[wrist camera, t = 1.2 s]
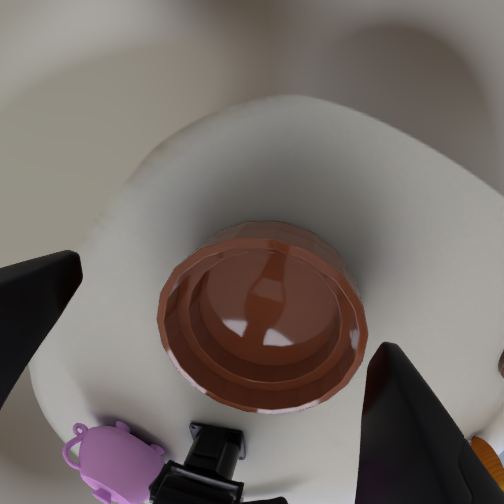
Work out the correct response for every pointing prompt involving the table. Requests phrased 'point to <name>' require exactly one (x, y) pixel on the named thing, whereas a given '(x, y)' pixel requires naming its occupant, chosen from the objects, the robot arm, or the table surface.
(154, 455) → the teapot
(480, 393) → the table surface
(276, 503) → the knife
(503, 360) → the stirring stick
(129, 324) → the table surface
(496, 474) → the carrot
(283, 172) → the table surface
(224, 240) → the bowl
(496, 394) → the table surface
